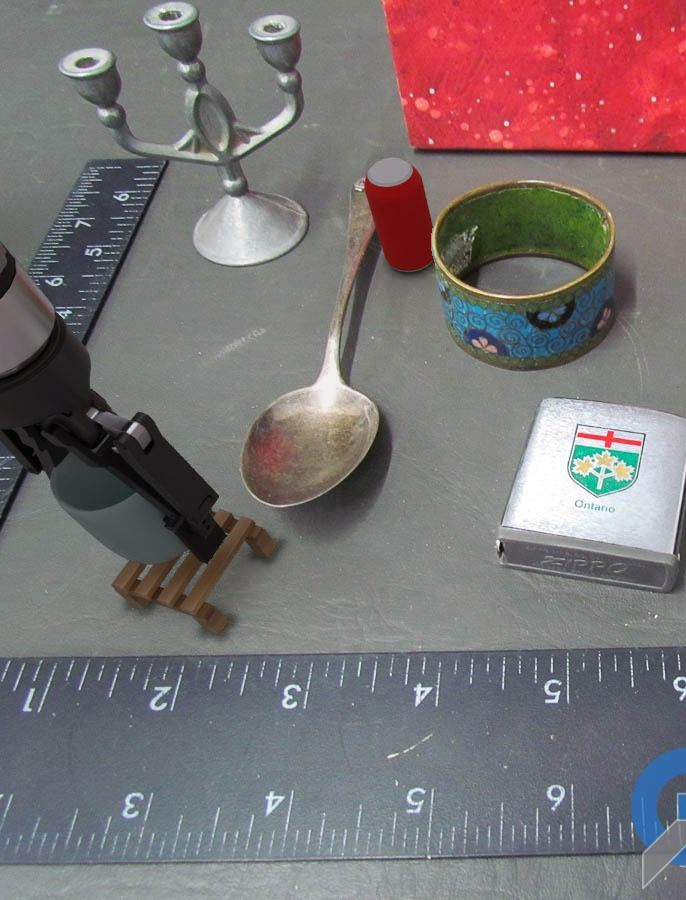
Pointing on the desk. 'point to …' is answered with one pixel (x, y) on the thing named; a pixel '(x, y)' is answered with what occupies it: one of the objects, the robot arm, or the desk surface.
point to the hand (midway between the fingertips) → (168, 533)
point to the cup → (113, 512)
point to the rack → (195, 602)
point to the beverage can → (400, 213)
